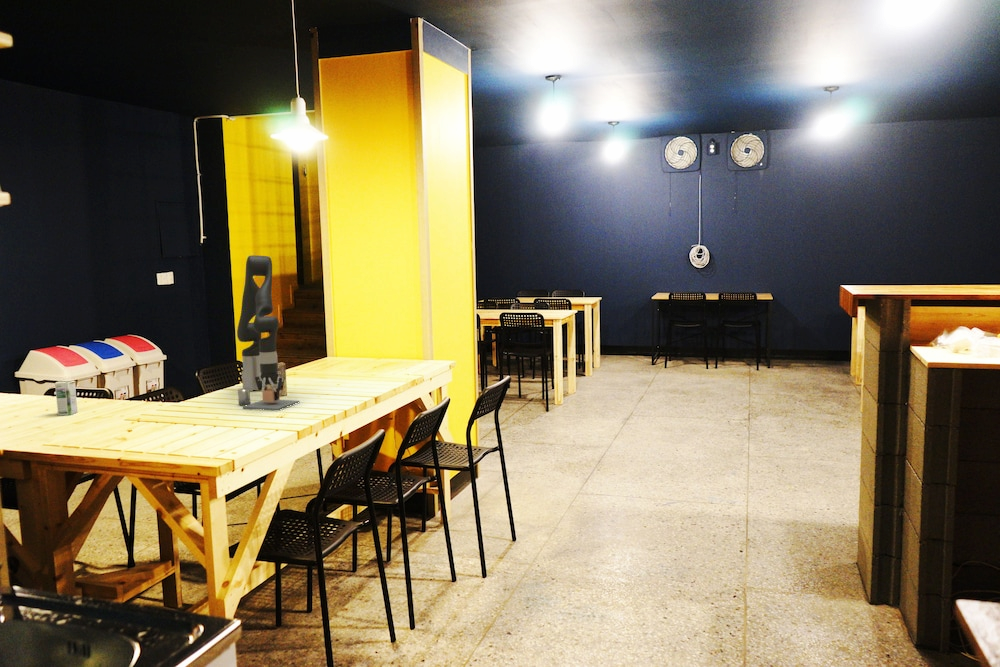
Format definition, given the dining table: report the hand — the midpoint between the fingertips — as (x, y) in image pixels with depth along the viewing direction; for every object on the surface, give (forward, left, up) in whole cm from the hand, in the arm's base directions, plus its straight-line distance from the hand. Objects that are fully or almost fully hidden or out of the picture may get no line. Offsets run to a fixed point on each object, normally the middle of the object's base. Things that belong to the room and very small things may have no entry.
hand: (271, 399), depth 330 cm
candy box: (-11, +20, -3) cm, 23 cm away
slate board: (0, 0, -3) cm, 3 cm away
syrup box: (-82, -31, -3) cm, 88 cm away
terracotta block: (0, 0, 0) cm, 0 cm away
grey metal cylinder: (-14, 0, -3) cm, 14 cm away
